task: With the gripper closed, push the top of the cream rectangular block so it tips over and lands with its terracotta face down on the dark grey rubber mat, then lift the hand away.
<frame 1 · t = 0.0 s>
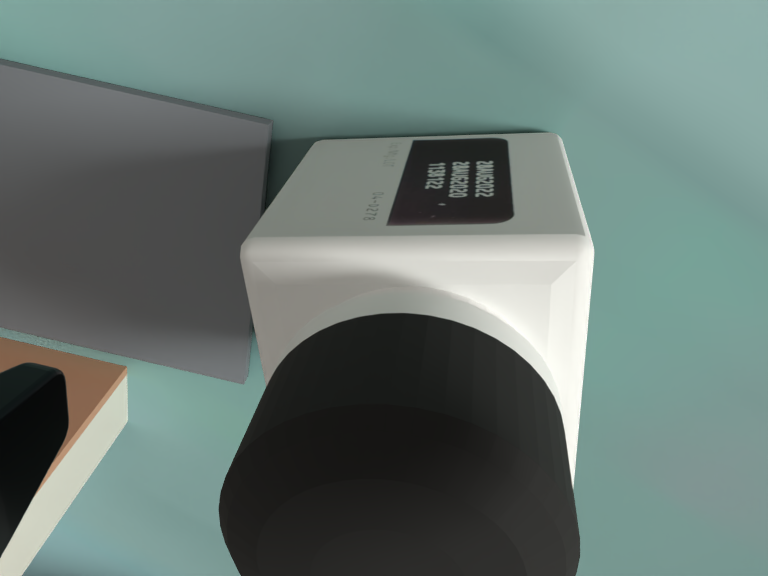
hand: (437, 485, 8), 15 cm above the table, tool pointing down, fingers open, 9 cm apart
container: (438, 242, 23), on the table
mat: (15, 206, 24), on the table
cream rectangular block: (35, 372, 28), on the table
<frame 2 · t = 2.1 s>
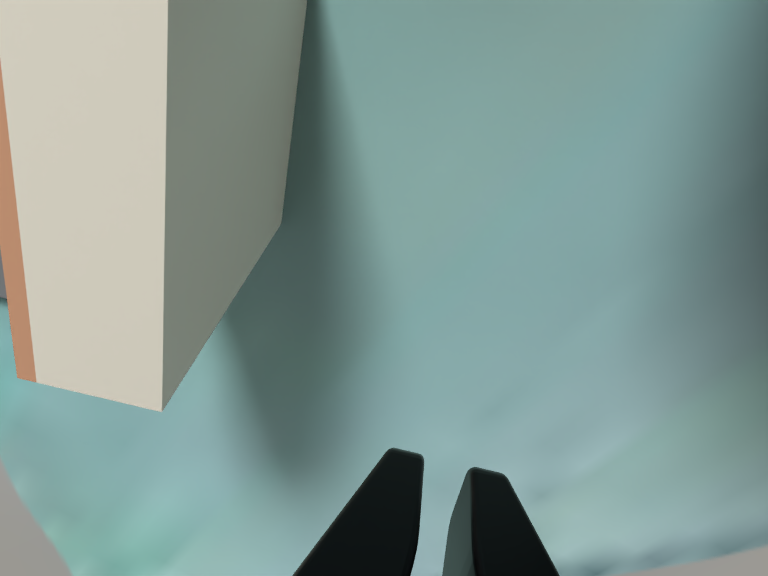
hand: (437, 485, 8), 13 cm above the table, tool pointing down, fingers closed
cream rectangular block: (244, 87, 19), on the table
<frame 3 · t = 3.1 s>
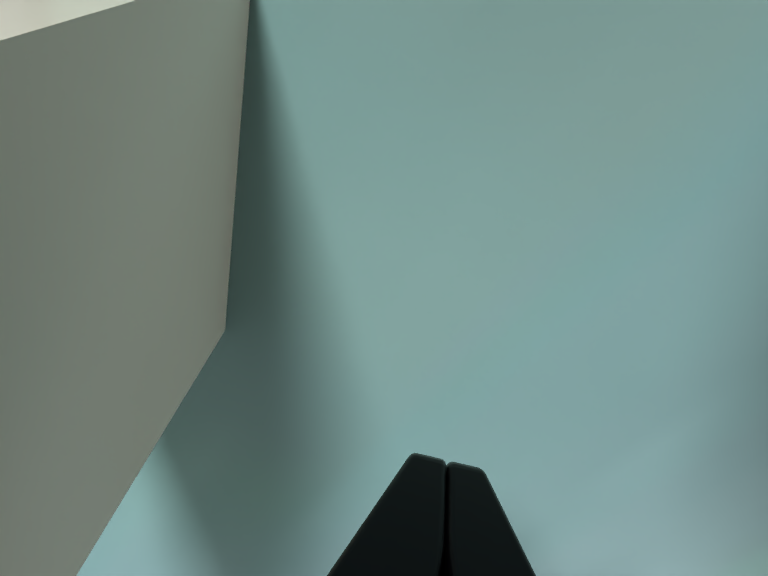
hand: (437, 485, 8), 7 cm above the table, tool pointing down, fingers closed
cream rectangular block: (166, 159, 14), on the table
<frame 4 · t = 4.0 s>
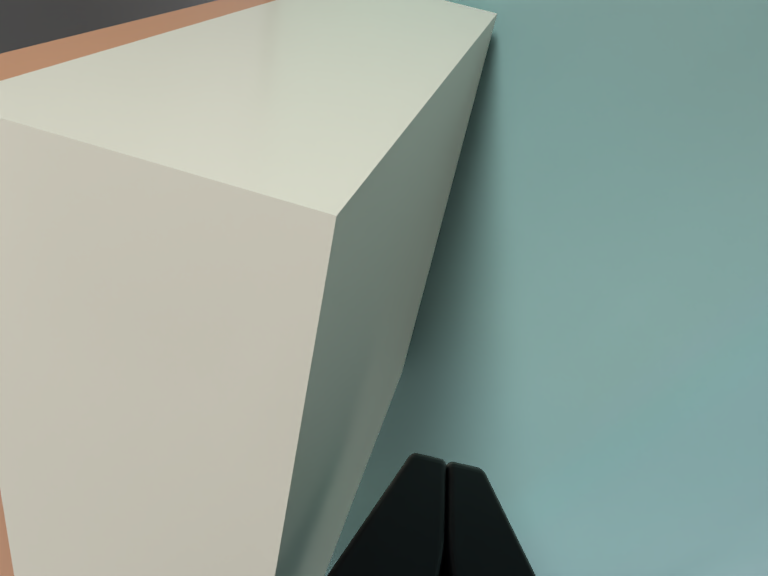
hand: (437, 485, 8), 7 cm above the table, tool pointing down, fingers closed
mat: (10, 112, 14), on the table
cream rectangular block: (371, 200, 14), on the table, tilted 6°, touching gripper
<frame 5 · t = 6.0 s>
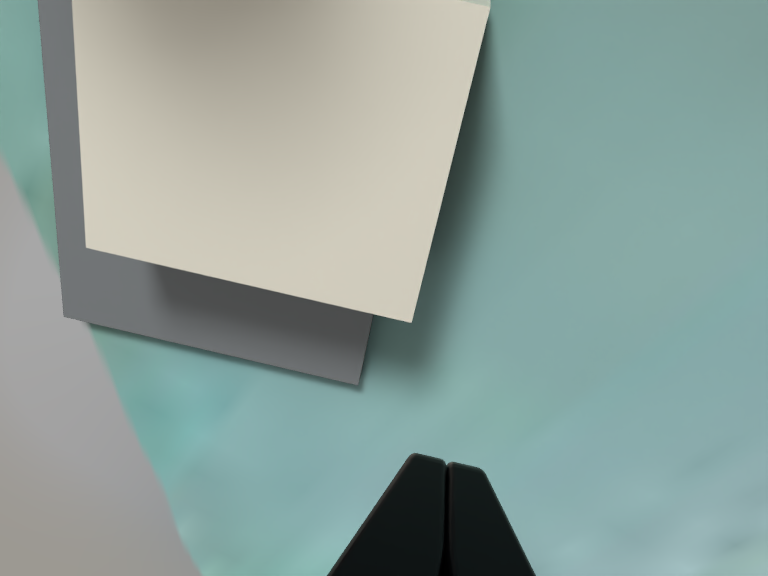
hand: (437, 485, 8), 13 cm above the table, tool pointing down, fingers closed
mat: (231, 89, 19), on the table
cream rectangular block: (449, 163, 17), point 2 cm above the table, tilted 90°, touching mat
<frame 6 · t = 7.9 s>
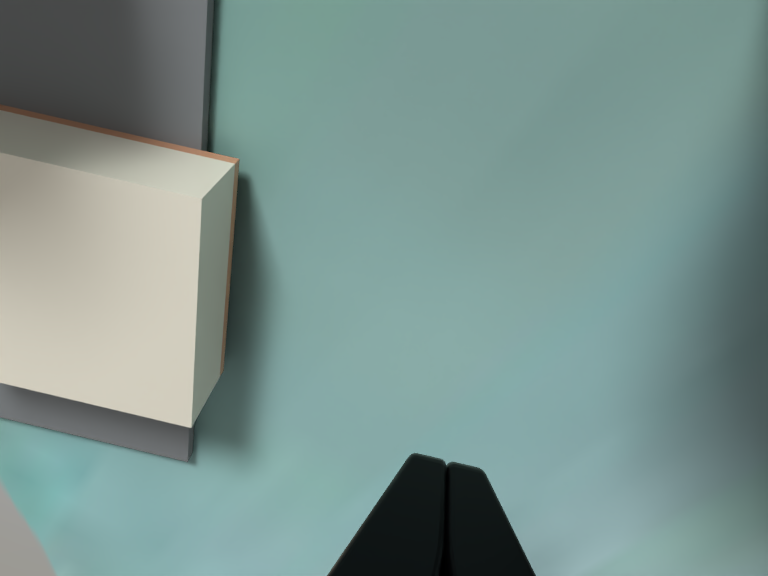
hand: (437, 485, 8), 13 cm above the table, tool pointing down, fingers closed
mat: (48, 224, 22), on the table
cream rectangular block: (214, 298, 20), point 2 cm above the table, tilted 90°, touching mat
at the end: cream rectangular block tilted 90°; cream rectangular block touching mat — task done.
